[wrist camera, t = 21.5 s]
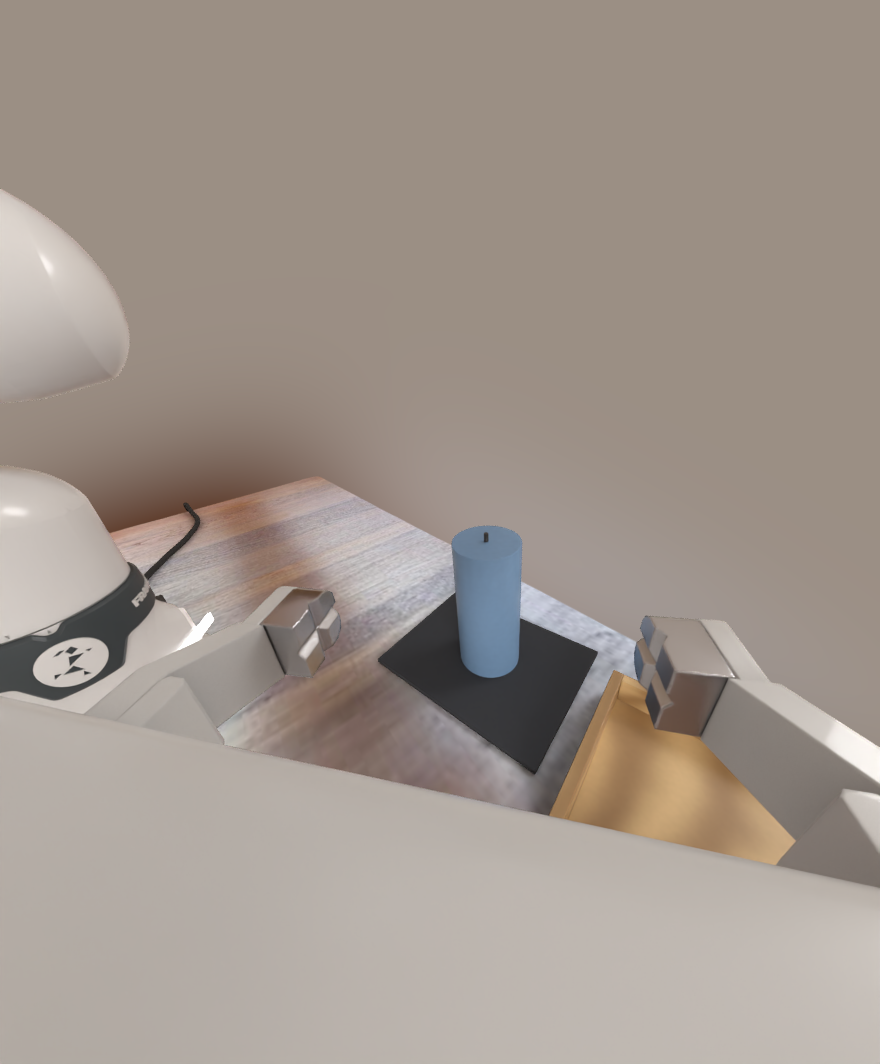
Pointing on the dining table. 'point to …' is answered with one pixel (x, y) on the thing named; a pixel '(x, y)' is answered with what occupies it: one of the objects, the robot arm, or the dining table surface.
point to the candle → (488, 598)
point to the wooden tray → (662, 784)
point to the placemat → (495, 682)
